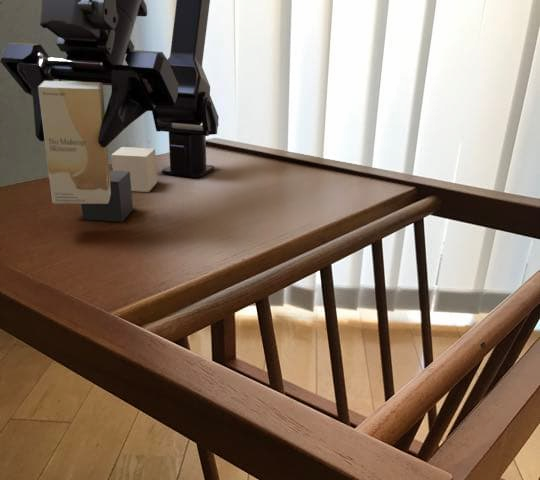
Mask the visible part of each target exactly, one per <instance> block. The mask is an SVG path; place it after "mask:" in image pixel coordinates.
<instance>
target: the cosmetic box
mask: <svg viewBox="0 0 540 480" xmlns="http://www.w3.org/2000/svg"><path fill="white" fill-rule="evenodd" d="M38 90H39V99H40V107H41V116H42V123H43V132H44V147H45V154H46V163H47V171H48V179H49V186H50V193H51V202H52V204H54V205H81V204H108V203H109V199H110V195H111V189H110V174H109V171H110V163H109V151H108V149H109V148H108V145H107V146H106V147H101V145H100V144H99V142H98V139H99V133H100V128H101V125H102V122H103V119H104V115H105V112H106V109H105V97H104V95H105V94H104V85H103V83H100V82H81V81H70V80H61V81H43V82H42V83H41V84H40V85H39V86H38Z"/></svg>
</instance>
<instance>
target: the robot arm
mask: <svg viewBox="0 0 540 480" xmlns="http://www.w3.org/2000/svg"><path fill="white" fill-rule="evenodd" d="M210 3H211V0H176V2H175V9H174V20H173V27H172V36H171V45H170V53H169V57H168V58H167V57H166V55H165V54H164V52H163V51H153V50H139V49H137V50H136V49H135V44H134V43H133V41H132V39H131V37H132V34H133V31H134V28H135V23H136V20H137V18H138V17H147V16H148V7H147V3H146V2H145V0H41V5H40V15H39V17H40V18H39V25H40V27H41V28H43V29H47V30H48V31H50V32H51V33H53V34H54V35H55V36H57V38H56V42H55V44H56V47H58V49H59V51H60V52H62V53H63V52H65V54H66V58H60V57H50V56H49V54H48V53H47V52H46V50H45V48H44V47H43V45H42V44H40V43H26V42H25V43H23V42H7V43H6V44H5V46H4V48H3V51H2V54H1V57H0V63H1V65H2V66H3V67H4V68H5V69H6V71H7V72H8V73H9V75H10V76H11V77H12V78H13V79H14V81H15V82H16V83H17V84H18V86H19V87H20V88H21V89H22V90H23V92H24V93H26V94H28V95H30V96H31V97H32V105H33V119H34V131H35V132H34V133H35V137H36V138H37V139H38V141H39V142H45V140H44V132H43V123H42V116H41V107H40V99H39V90H38V86H39V85H40V84H41V83H42V82H43V81H76V82H100V83H103V86H111V93H110V97H109V99H108V103H107V106H106V109H105V115H104V119H103V122H102V125H101V128H100V133H99V139H98V142H99V144H100V145H101V147H106V146H107V147H108V145H109V144H110V143H112V142H113V141H114V140H115V139H116V138H117V137H118V136H119V135H120V134H121V133H122V132H123V131H124V130H126V129H127V128H128V127H129V126H130V125H131V124H132V123H134V122H135V121H136V120H138V119H139V118H141V117H142V116H143V115H144V114H145V113H147V112H151V114H152V118H153V122H154V126H155V131H156V132H167V133H168V150H169V151H168V153H169V165H168V166H166V167H165V168H163V169H161V173H162V174H165V175H174V176H181V177H189V178H201V177H202V176H205V175H206V174H207V173H210V172H211V171H214V170H215V165H212V164H207V137H208V136H211V135H217V134H218V129H219V128H218V127H219V126H220V125H219V114H218V111H217V109H216V106H215V104H214V102H213V99H212V96H211V84H210V83H209V80H208V77H207V75H206V73H205V70H204V68H203V59H204V53H205V45H206V36H207V29H208V21H209V14H210V13H209V12H210V5H211V4H210ZM124 61H125V63H126V64H124Z"/></svg>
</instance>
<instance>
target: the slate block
mask: <svg viewBox="0 0 540 480" xmlns="http://www.w3.org/2000/svg"><path fill="white" fill-rule="evenodd" d="M109 174H110V189H111V195H110V199H109V203H108V204H80V206H81V212H82V214H81V215H82V220H83V221H85V220H87V221H104V222H120V223H122V222H123V221H124V220H125V219H126V218H127V217H128V216H130V213H132V211H133V210H134V207H133V196H132V195H133V194H132V191H131V181H130V172H127V171H113V170H109Z"/></svg>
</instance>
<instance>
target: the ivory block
mask: <svg viewBox="0 0 540 480" xmlns="http://www.w3.org/2000/svg"><path fill="white" fill-rule="evenodd" d="M110 156H111V164H112V165H111V167H112V171H127V172H130V181H131V192H139V193H140V192H141V193H150V192H151V190H152V189H153V188H154V187H155V186H156V185H157V184H158V176H157V175H158V174H157V162H156V161H157V157H156V148H148V147H131V146H121V147H119V148H118V149H117V150H115V151H114V152H113V153H112V154H111V155H110Z"/></svg>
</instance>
